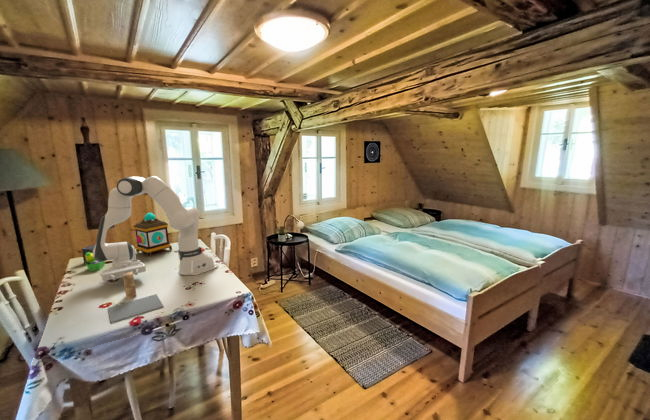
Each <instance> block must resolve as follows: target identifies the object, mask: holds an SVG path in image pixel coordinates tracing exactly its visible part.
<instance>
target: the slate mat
mask: <svg viewBox="0 0 650 420" xmlns="http://www.w3.org/2000/svg"><path fill="white" fill-rule="evenodd" d="M161 308H164V304H163V302H162V301H161V300H160V298H159V296H158V294H157V293H156V294H151V295H148V296H145V297H141V298H138V299H134V300H131V301H128V302H125V303H120V304H117V305H113V306H110V307H107V309H108V313H109V320H110V324H113V323H114V324H115V323H118V322H120V321H123V320H127V319H130V318H133V317H134V318H135V317H136V316H140V315H143V314H146V313H149V312H152V311H157V310H159V309H161Z"/></svg>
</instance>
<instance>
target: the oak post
mask: <svg viewBox="0 0 650 420" xmlns="http://www.w3.org/2000/svg"><path fill="white" fill-rule="evenodd" d="M134 276H135V275H134V274H133V273H132V272H128V273H124V274H123V277H122V279H123V285H124V291H125V297H126V299H130V298H131V299H132V298H135V297H137V290H136V284H135V278H134Z"/></svg>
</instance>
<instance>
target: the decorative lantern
mask: <svg viewBox="0 0 650 420" xmlns="http://www.w3.org/2000/svg"><path fill="white" fill-rule="evenodd" d="M168 226H169V223H167V222H166V221H163V220H160V219H158V218H157V217H156V215H155V214H154V213H152V212H147V213H146V214H145V215H144V219H142V220H141V221H140V222H138V223H136V224H134V225H133V226H132V227H133V229H134V230H135V236H136V243H137V246H136V249H135V253H136V254H140V252H142V253H146V254H147V257H148V258H150V257H151V254H152V253H155V252H158V251H163V250H166V249H169V251H172V249H173V248H172V245H171V244H170V240H169V239H170V238H169V233H168V232H169V231H168Z"/></svg>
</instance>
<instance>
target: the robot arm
mask: <svg viewBox="0 0 650 420" xmlns="http://www.w3.org/2000/svg"><path fill="white" fill-rule="evenodd" d="M145 194H147V195H149V197H151V199H153V201H154V202H155V203H156V204H157V205H158V206H159V207H160V208H161V209H162V210H163V211H164V213H165V215H166V216H167V218H168V225H169V226H170V227H171V228H173V229H174V230H179V231H178V234H177V235H178V236H177V245H178V253H177V254H178V260H179V268H178V274H179V275H182V276H184V275H185V276H197V275H200V274H203V273H205V272H209V271H212V270H215V269H217V268H218V267H219V265H218V263H217V262H215V261H214V258H213V257H212V256H211V255H210V254H208V253H205V251H206V249H205V248H204V247H202V246H199V237H198V235H199V223H200V222H199V221H200V220H199V219H200V217H201V213H200V210H199V209H197V207H194V206H186V207H185V206H184V205H183V204H182V202H181V200H180V196H179V195H178V194H177V193H176V192H175V191H174V190H173V189H172V188H171V187H170V185H168V184H167V183H166V182H165V181H163V180H162V179H161V178H159V177H158V176H156V175H153V176H148V177H147V178H146V177H143V176H127V177H126V176H125V177H123V178H120V179H119V180H118V181H117V183H116V187H114V188H112V189H111V190H110V191H109V194H108V201H107V207H108V208H107V212H106V213H105V214H104V215H103V216H101V218H100V221H99V225H98V229H97V235H96V240H95V244H94V245H95V247H94V250H93V257H94V259H96V260H97V261H100V262H102V261H105V262H106V261H112V263H111V267H112V268H110V269H106V270H103V271H102V272H101V273H100V274H99V275H100V276H101V281H103V282H105V281H109V280H113V281H115V280H118V278H123V274H124V273H128V272H132V273H133V276H138V275H139V274H140V273H144V272H146V271H147V268H146V267H147V266H146V264H145V263H144V262H142V261H141V260H140V259H137V260H132V261H131V259H132V258H133V248H132V246H133V245H132V244H131V243H130V242H128V241H121V242H119V241H118V242H110V243H107V242H106V238H107V232H108V230H109V229H110V228H111V227H113V226H116V225H118V224H121V223H123V222H125V221H127V220H128V219H129V218H130V217H131V215H132V199H133V198H134V197H138V196H142V195H145ZM131 245H132V246H131Z"/></svg>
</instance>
